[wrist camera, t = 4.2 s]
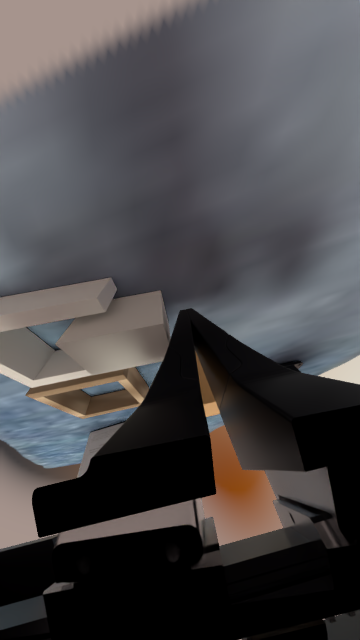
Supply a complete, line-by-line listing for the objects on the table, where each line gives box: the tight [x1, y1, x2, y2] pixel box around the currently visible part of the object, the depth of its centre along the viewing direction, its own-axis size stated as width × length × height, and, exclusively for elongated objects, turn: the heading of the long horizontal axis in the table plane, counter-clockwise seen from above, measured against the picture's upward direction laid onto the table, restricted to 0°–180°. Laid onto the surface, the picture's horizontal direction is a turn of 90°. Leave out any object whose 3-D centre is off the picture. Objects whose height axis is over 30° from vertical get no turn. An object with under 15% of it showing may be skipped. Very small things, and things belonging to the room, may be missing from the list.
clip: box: [0, 278, 117, 388], centre depth 8 cm, size 6×8×2 cm
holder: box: [25, 367, 149, 419], centre depth 14 cm, size 8×8×2 cm
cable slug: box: [55, 290, 171, 376], centre depth 8 cm, size 3×5×4 cm, turn 96°
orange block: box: [195, 352, 220, 417], centre depth 13 cm, size 4×4×5 cm
